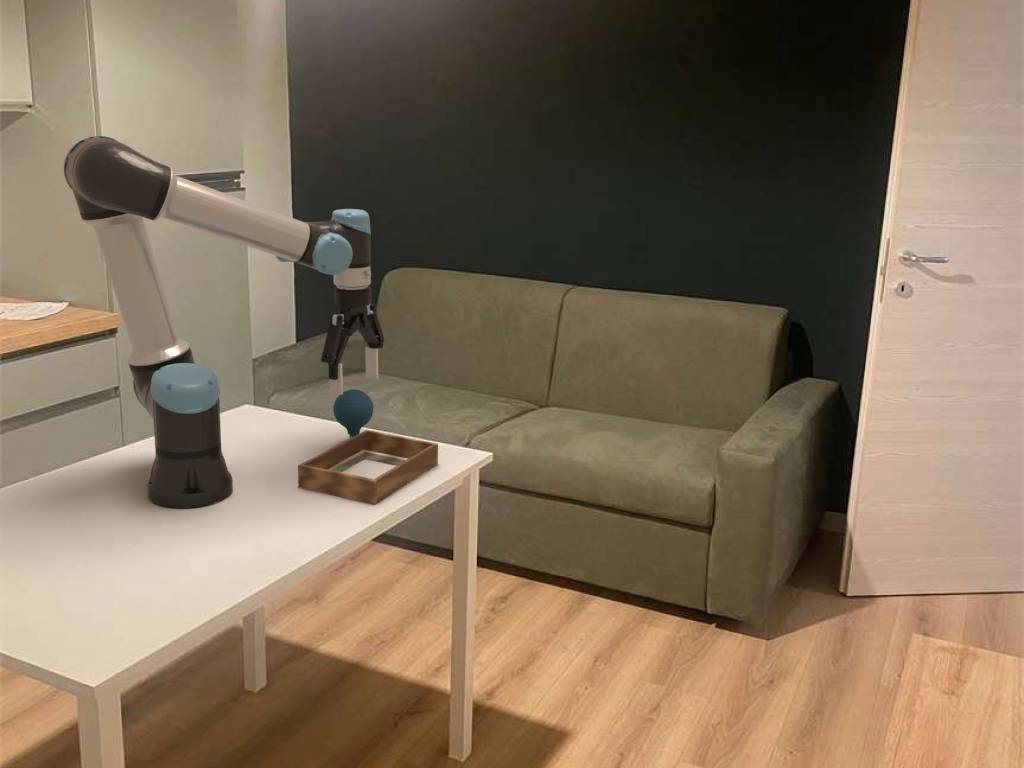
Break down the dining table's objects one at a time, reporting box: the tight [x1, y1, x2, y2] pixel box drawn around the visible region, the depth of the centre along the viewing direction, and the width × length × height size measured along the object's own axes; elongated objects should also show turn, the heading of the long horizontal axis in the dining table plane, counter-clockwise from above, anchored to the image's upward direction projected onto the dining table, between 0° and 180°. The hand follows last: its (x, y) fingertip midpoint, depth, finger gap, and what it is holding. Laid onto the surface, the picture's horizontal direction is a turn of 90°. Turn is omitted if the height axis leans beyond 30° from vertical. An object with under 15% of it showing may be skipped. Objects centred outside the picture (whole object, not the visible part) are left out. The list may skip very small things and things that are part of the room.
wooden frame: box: [297, 429, 439, 505], centre depth 207 cm, size 17×24×4 cm
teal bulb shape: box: [332, 388, 374, 439], centre depth 223 cm, size 8×8×12 cm
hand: (354, 385), depth 221 cm, fingers open, 13 cm apart
